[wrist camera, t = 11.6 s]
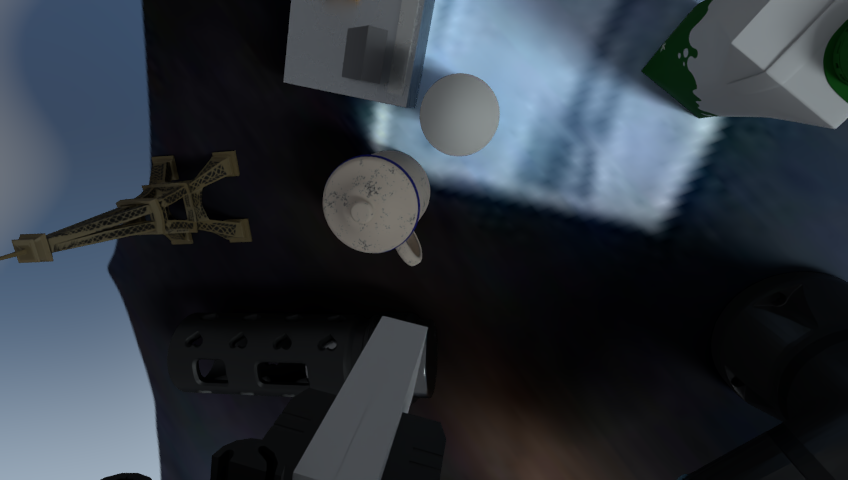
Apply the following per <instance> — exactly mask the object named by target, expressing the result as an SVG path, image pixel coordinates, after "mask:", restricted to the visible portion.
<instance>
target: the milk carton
mask: <svg viewBox="0 0 848 480" xmlns="http://www.w3.org/2000/svg"><path fill="white" fill-rule="evenodd" d="M642 72H643V73H644V74H645V75H646V76H648V77H649V78H650V79H651V80H653V81H654V82H655V83H656V84H657V85H659V86H660V87H661V88H662V89H664V90H665V91H666V92H667V93H669V94H670V95H671V96H672V97H673V98H675V99H676V100H677V101H678V102H680V103H681V104H682V105H683V106H684V107H686V108H687V109H688V110H689V111H691V112H692V113H693V114H694V115H695V116H697V117H698V118H705V117H713V116H732V117H770V118H776V119H782V120H788V121H793V122H799V123H805V124H810V125H816V126H821V127H826V128H832V129H836V128H837V127H838V126H840V125H841V124H842V123H843V122H844V121H845V120H846V119H847V118H848V0H704V1H703V2H701V3H699V4H698V5H697V6H695V7H694V8H693V10H692V11H691V12H690V13H689V14H688V15H687V17H686V18H685V19H684V20H683V21H682V22H681V23H680V25H679V26H678V27H677V28H676V29H675V30H674V32H673V33H672V34H671V35H670V36H669V37H668V39H667V40H666V41H665V42H664V43H663V45H662V46H661V47H660V48H659V50H658V51H657V52H656V53H655V55H654V56H653V57H652V58H651V60H650V61H649V62H648V63H647V65H646V66H645V67H644V68H643V70H642Z"/></svg>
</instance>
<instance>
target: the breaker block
mask: <svg viewBox="0 0 848 480" xmlns="http://www.w3.org/2000/svg"><path fill="white" fill-rule="evenodd" d="M434 3H435V0H291V8H290V19H289V30H288V40H287V51H286V61H285V72H284V82H285V83H290V84H295V85H299V86H304V87H309V88H314V89H319V90H323V91H328V92H333V93H338V94H343V95H348V96H352V97H357V98H362V99H367V100H372V101H376V102H381V103H386V104H391V105H396V106H400V107H405V108H416V102H417V97H418V91H419V86H420V80H421V75H422V69H423V64H424V58H425V53H426V47H427V42H428V36H429V31H430V25H431V20H432V14H433V9H434ZM367 25H370V26H373V27H377V28H381V29H384V30H388V35H387V42H386V48H385V54H384V61H383V67H382V74H381V80H380V84H376V83H370V82H365V81H359V80H354V79H349V78H344V77H342V69H343V62H344V54H345V47H346V39H347V31H348V28H354V27H361V26H367Z"/></svg>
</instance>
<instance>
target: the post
mask: <svg viewBox="0 0 848 480" xmlns="http://www.w3.org/2000/svg"><path fill="white" fill-rule="evenodd" d="M499 114H500V113H499V105H498V101H497V98H496V96H495V94H494V92H493V91H492V89H491V88H490V87H489V86H488V85H487V84H486V83H485V82H484V81H483V80H481V79H479V78H478V77H475V76H473V75H469V74H463V73H458V74H451V75H448V76H445V77H443V78H441V79H440V80H438V81H437V82H435V83H434V84H433V85H432V86H431V87H430V88H429V90H428V91H427V93H426V94H425V96H424V98H423V101H422V104H421V108H420V123H421V127H422V130H423V133H424V135H425V137H426V139H427V140H428V141H429V143H430V144H431V145H432V146H433V147H435V148H436V149H437V150H439V151H441V152H443V153H445V154H448V155H452V156H466V155H470V154H473V153H475V152H477V151H479V150H481V149H482V148H483V147H485V146H486V145H487V144H488V143H489V141H490V140H491V139H492V137H493V136H494V134H495V132H496V130H497V127H498V123H499Z"/></svg>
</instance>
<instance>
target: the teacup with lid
mask: <svg viewBox="0 0 848 480" xmlns="http://www.w3.org/2000/svg"><path fill="white" fill-rule="evenodd" d="M429 199H430V184H429V180H428V177H427V175H426V173H425V171H424V169H423V168H422V167H421V165H420V164H419V163H418V162H417V161H416V160H415V159H413V158H412V157H410V156H409V155H407V154H405V153H402V152H398V151H392V150H387V151H380V152H377V153H374V154H371V155H360V156H356V157H352V158H350V159H348V160H346V161H344V162H343V163H341V164H340V165H339V166H338V167H337V168H336V169H335V170H334V171H333V172H332V173H331V175H330V177H329V178H328V180H327V182H326V185H325V188H324V193H323V211H324V215H325V218H326V221H327V223H328V225H329V227H330V229H331V230H332V232H333V233H334V234H335V235H336V237H337V238H338V239H339V240H341V241H342V242H343V243H344V244H346V245H347V246H349V247H351V248H353V249H355V250H358V251H361V252H366V253H383V252H387V251H390V250H393V249H396V250H397V252H398V254H399V255H400V257H401V258H402V259H403V261H404V262H405V263H407V264H408V265H410V266H415V265H417V264H419V263H420V262H421V260H422V249H421V245H420V243H419V240H418V238H417V236H416V234H415V232H414V230H415V228H416V225H417V223H418V221H419V219H420V218H421V216H422V215H423V214H424V212H425V210H426V208H427V206H428V203H429Z"/></svg>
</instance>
